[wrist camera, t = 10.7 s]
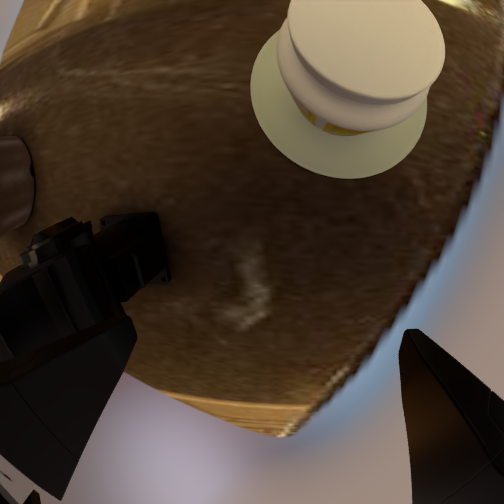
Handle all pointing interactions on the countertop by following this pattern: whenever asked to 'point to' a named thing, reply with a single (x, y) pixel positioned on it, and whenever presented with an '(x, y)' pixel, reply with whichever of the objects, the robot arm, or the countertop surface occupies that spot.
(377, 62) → the pill bottle
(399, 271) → the countertop surface
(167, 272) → the robot arm
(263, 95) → the disc
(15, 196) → the plant pot
